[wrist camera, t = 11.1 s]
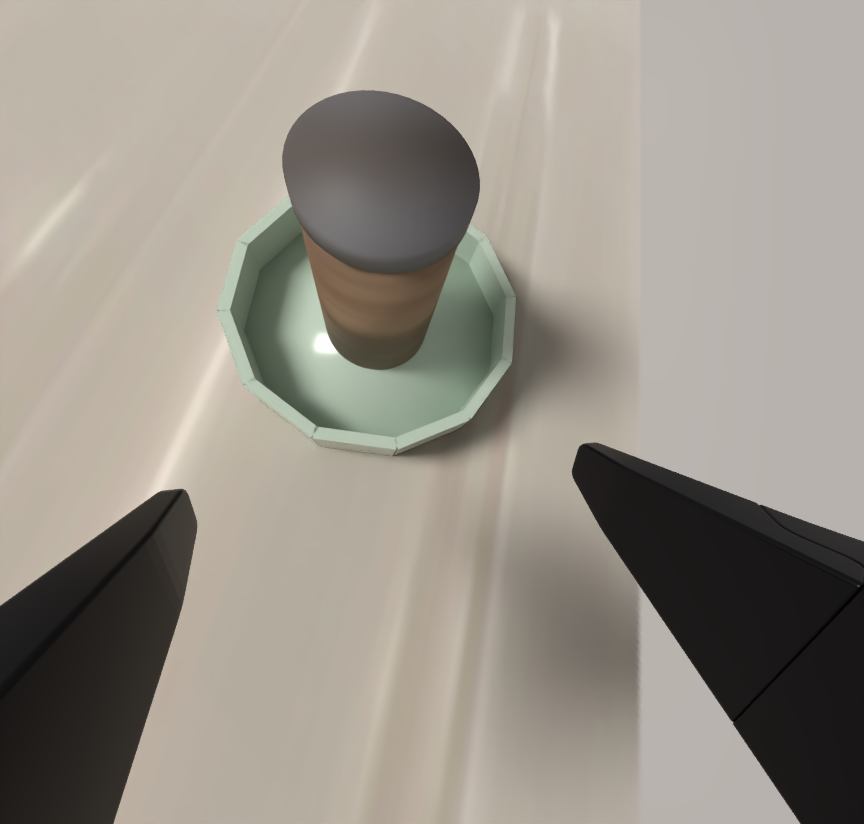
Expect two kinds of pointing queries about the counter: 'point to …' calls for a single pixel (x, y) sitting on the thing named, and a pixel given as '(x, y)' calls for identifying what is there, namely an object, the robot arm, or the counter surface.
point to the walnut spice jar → (379, 216)
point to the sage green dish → (346, 382)
